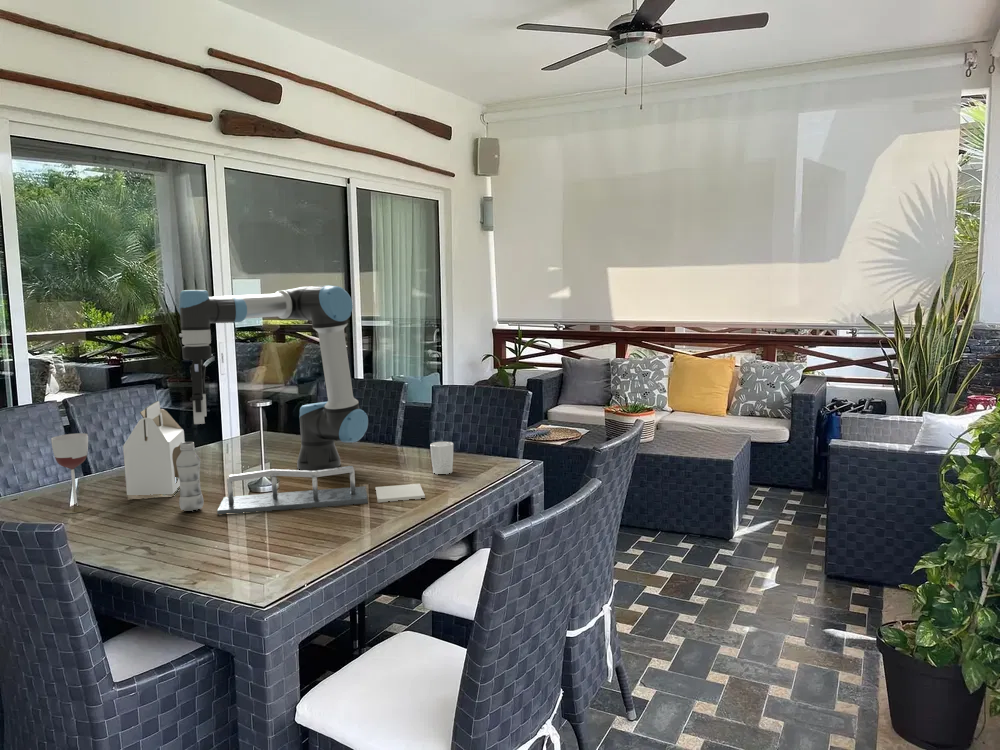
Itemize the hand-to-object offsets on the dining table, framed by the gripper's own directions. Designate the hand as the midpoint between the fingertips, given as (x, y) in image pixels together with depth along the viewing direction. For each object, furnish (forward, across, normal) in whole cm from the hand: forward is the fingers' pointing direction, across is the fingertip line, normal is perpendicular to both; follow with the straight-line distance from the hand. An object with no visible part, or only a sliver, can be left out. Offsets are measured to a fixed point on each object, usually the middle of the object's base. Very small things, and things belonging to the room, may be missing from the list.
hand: (200, 420), depth 209 cm
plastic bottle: (+27, -4, -4) cm, 28 cm away
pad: (+26, +4, +56) cm, 62 cm away
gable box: (+27, -33, -15) cm, 46 cm away
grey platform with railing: (+27, 0, +25) cm, 37 cm away
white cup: (+26, -17, +75) cm, 81 cm away
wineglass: (+27, -18, -36) cm, 49 cm away
